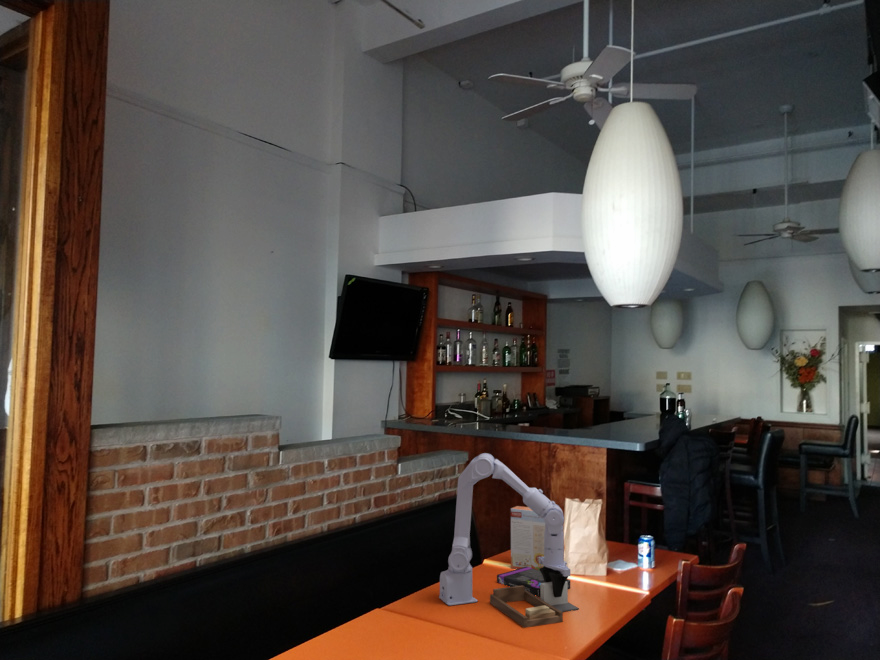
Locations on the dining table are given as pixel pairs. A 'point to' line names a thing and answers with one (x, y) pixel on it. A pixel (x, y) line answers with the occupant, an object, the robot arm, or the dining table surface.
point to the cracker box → (526, 538)
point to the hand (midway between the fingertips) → (554, 594)
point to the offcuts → (538, 612)
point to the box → (524, 579)
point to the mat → (565, 607)
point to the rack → (518, 594)
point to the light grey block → (549, 596)
